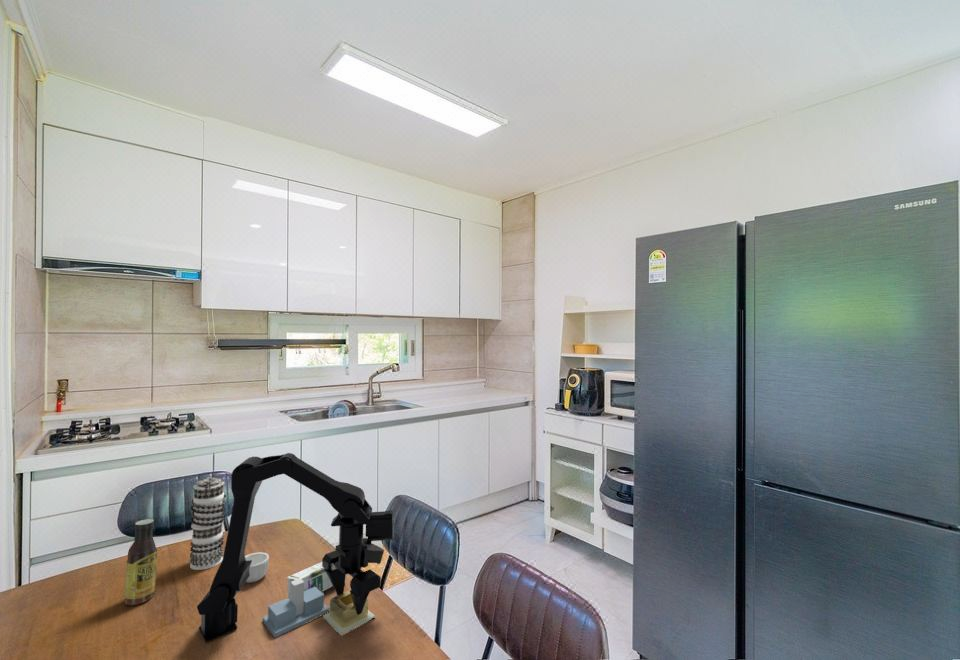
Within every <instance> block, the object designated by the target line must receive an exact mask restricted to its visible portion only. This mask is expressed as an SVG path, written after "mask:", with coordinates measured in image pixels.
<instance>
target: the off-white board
mask: <svg viewBox="0 0 960 660" xmlns="http://www.w3.org/2000/svg"><path fill="white" fill-rule="evenodd" d="M322 616H323V617H324V618H325V619H326V620H327V621H328V622H329V623H328V622H327V621H326V620H325V619H324V618H323V617H322V618H323V619H324V620H325V621H326V622H327V623H328V624H329V626H331V625H332V626H333V627H334V628H333V627H332V626H331V627H332V628H333V630H335V632H336V633H337V632H338V633H339V634H340V635H342V634H344V633H346V632H348V631H350V630H352V629H354V628H355V627H357V626H359V627H361V626H362V625H361V624H363V625H365V624H367V623H368V622H367V621H369V620H371V619H372V618H375V619H376V615H375V614H374V613H372V612H371V611H370V610H369V609H368V616H366V617H364V618H362V619H360V620H358V621H356V622H355V623H353V624H351V625H349V626H347V627H345V628H342V627H341V626H340V625H339V624H338V623H337V622H336V621H335V620H334V619H333V618H332V617H331V616H330V611H329V613H327V614H325V615H322ZM371 621H372V620H371ZM366 622H367V623H366ZM369 622H370V621H369ZM364 623H365V624H364ZM360 625H361V626H360ZM354 630H355V629H354ZM352 631H353V630H352ZM350 632H351V631H350ZM348 633H349V632H348ZM339 634H338V635H339ZM346 634H347V633H346ZM340 635H339V636H340ZM344 635H345V634H344ZM342 636H343V635H342Z"/></svg>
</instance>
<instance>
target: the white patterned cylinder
mask: <svg viewBox="0 0 960 660" xmlns="http://www.w3.org/2000/svg"><path fill="white" fill-rule="evenodd" d="M225 483H226V482H225V481H223V480H222V479H221V478H220V477H217V476H216V477H215V476H212V477H204V478H201V479H200V480H199V481H198V482H197V483H196V484H194V486H193V498H192V499H191V500H190V511H191V512H190V522H191V524H190V525H191V526H190V527H191V529H192V535H191V542H190V550H189V551H190V553H189V558H190V559H189V563H190V564H189V567H190V569H191V570H194V571H195V570H196V571H201V570H208V569H211V568H213V567H216V566H218V565H220V564H221V562H222V560H223V555H224V546H223V545H224V535H223V523H224V522H225V518H224V517H225V516H226V514H225V512H224V511H225V510H226V506H225V505H226V504H227V503H226V502H227V501H225V500H223V499H225V498H226V497H227V494H225V493H224V485H225Z"/></svg>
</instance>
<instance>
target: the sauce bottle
mask: <svg viewBox="0 0 960 660" xmlns="http://www.w3.org/2000/svg"><path fill="white" fill-rule="evenodd" d="M154 526H155V520H154V519H152V518H147V519H141V520H138V521H137V522H135V523H134V527H133V528H134V530H135V531H134V540H133V543H132V544H131V546H130V547H129V550H127V551H128V552H127V561H126V567H125V568H126V569H125V582H124V595H123V596H124V604H125V605H127V606H137V605H140V604H143V603H146V602H148V601H149V600H150V599H151V598H153V597H154V595H155V591H156V590H155V589H156V577H157V576H156V575H157V560H158V550H157V549H158V548H157V547H156V546H157V545H156V542H155V540H154V537H153V536H154V534H153V533H154V529H153V528H154Z"/></svg>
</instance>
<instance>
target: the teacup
mask: <svg viewBox="0 0 960 660" xmlns="http://www.w3.org/2000/svg"><path fill="white" fill-rule="evenodd" d="M245 559H246V561H249V560H252V563H251V565H250V568H249V574H250V576H249V578H248V579H247V581H246V582H245V583H248V584H250V583H251V584H252V583H255V582H258V581H260V580H261V579H263V578H264V576H265V575H266V574H267V572H268V569H269V563H270V556H269V554H268V553H266V552H261V551H260V552H259V551H258V552H253V553H249V554H247V555H245Z"/></svg>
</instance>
